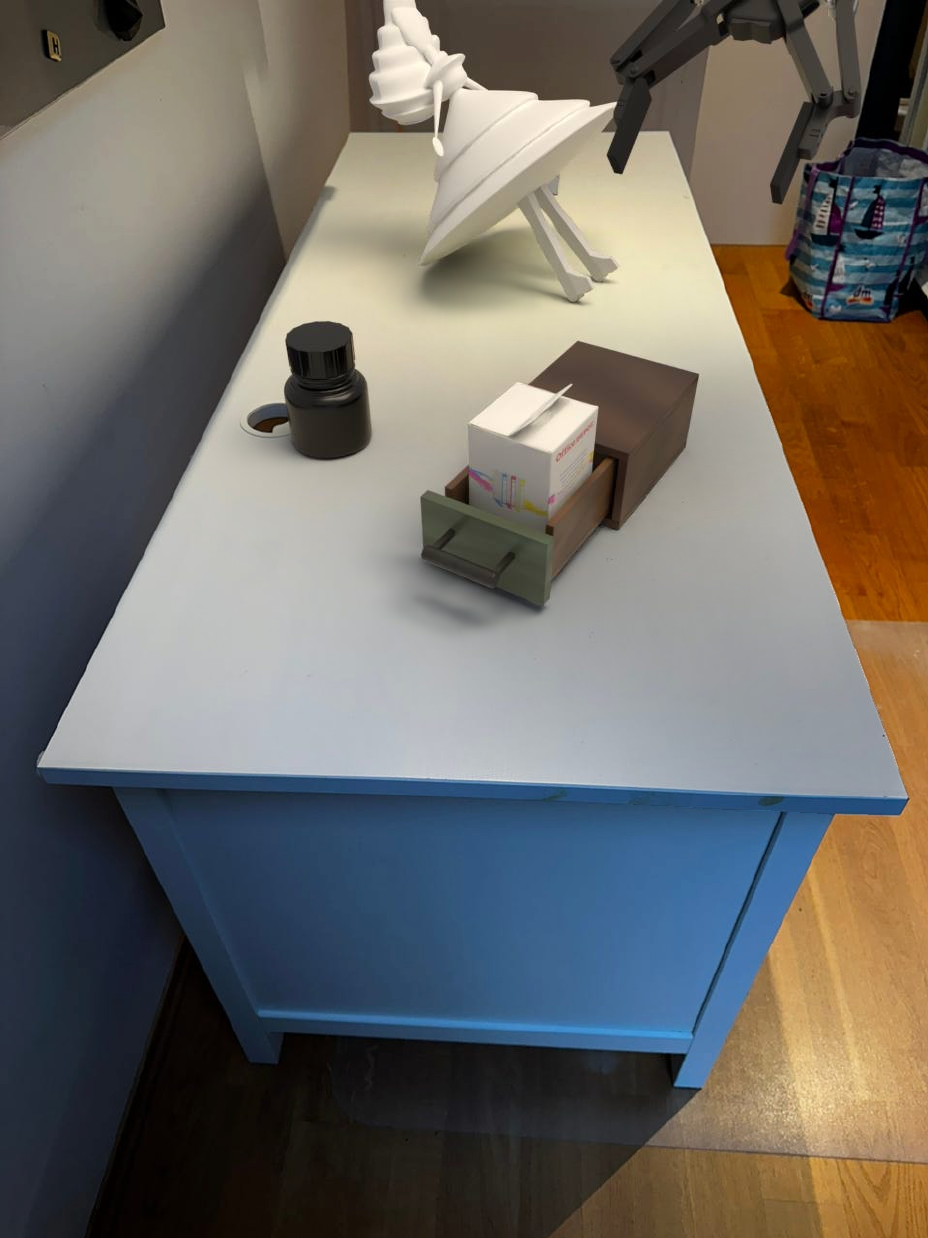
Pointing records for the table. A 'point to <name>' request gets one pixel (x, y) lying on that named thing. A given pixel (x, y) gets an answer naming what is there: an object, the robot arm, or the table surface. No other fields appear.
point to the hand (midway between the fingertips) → (691, 179)
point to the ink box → (530, 454)
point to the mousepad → (554, 185)
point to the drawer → (513, 534)
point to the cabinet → (628, 414)
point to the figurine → (486, 146)
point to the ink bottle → (326, 391)
